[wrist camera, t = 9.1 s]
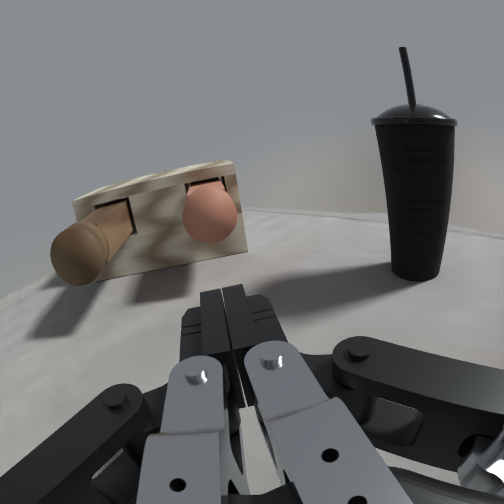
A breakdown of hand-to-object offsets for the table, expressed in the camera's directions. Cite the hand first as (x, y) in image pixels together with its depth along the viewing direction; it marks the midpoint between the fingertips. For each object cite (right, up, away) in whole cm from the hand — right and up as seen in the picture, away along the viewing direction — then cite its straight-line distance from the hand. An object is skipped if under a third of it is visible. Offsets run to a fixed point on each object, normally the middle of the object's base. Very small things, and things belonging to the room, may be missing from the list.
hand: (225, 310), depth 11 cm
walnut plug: (-14, +2, +18) cm, 23 cm away
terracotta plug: (-3, +6, +23) cm, 24 cm away
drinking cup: (+16, 0, +14) cm, 22 cm away
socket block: (-10, +2, +30) cm, 31 cm away
